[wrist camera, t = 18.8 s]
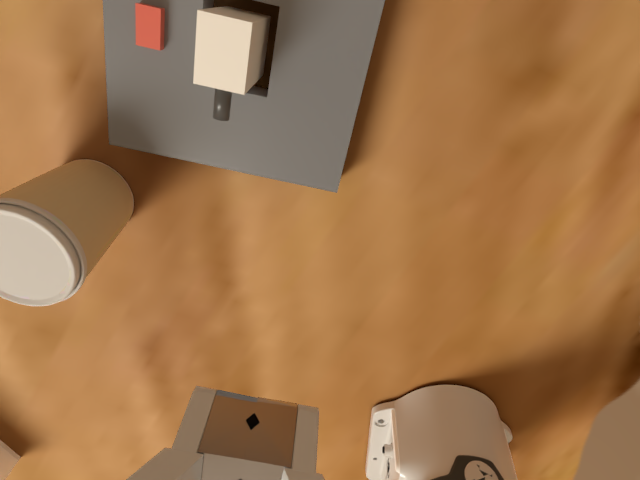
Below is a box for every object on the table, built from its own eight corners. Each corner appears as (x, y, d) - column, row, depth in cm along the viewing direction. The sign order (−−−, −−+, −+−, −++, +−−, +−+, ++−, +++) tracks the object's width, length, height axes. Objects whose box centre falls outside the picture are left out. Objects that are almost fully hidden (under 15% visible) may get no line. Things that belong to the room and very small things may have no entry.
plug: (259, 103, 37) (240, 129, 30) (219, 94, 37) (191, 118, 30) (271, 16, 34) (252, 22, 27) (227, 5, 34) (197, 9, 27)
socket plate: (337, 179, 41) (336, 196, 37) (124, 134, 39) (104, 147, 36) (400, -77, 31) (407, -85, 27) (117, -149, 29) (89, -167, 26)
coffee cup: (29, 187, 43) (-73, 250, 32) (84, 129, 39) (-9, 179, 29) (105, 251, 46) (35, 327, 36) (162, 203, 43) (104, 271, 32)
